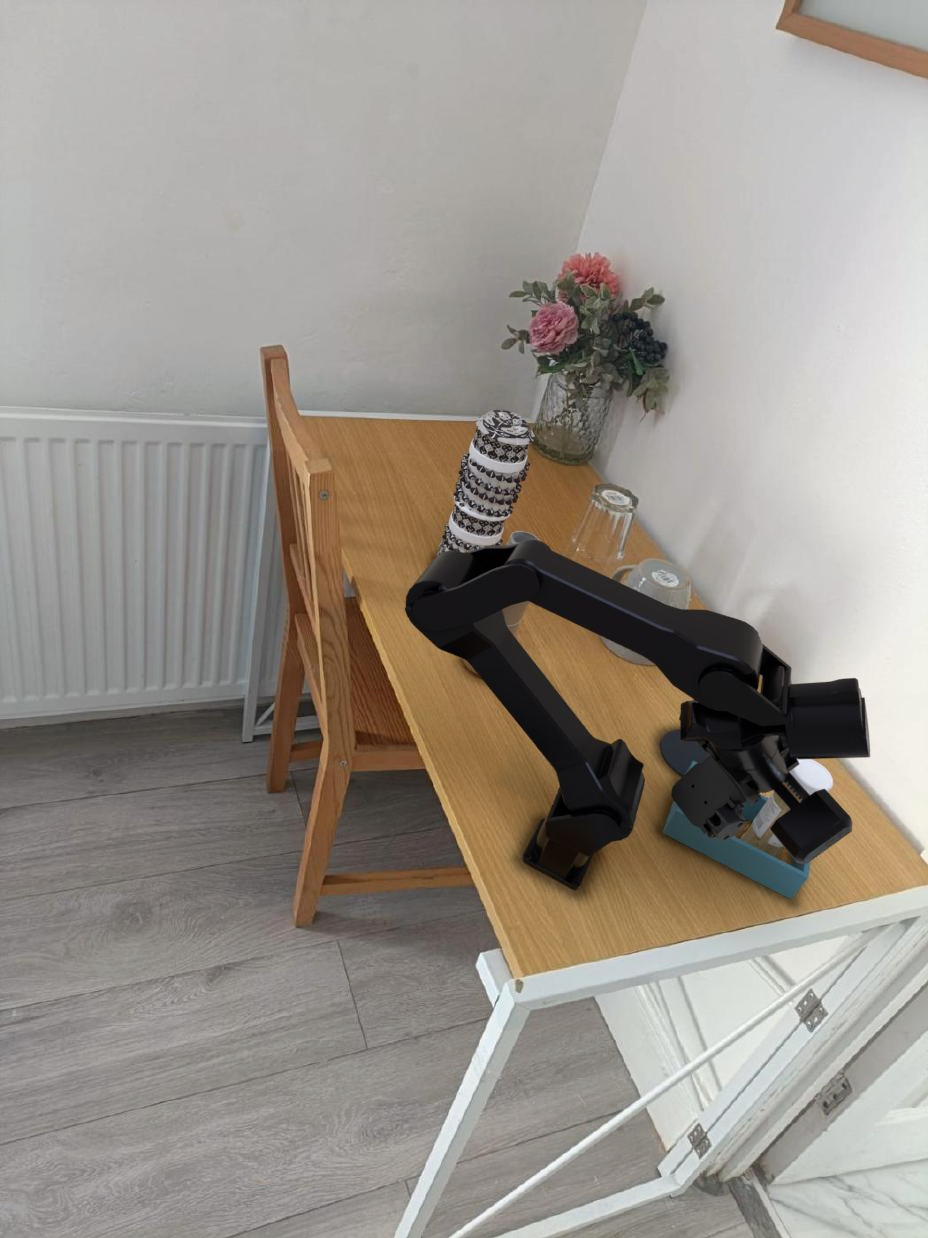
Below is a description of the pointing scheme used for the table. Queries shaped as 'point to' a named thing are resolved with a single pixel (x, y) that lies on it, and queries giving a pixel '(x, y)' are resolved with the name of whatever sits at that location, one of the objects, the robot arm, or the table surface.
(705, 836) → the blue open rectangular frame
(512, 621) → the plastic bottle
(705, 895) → the table surface
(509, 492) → the white patterned cylinder
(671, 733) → the coaster
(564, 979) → the table surface
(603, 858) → the table surface
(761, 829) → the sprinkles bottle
